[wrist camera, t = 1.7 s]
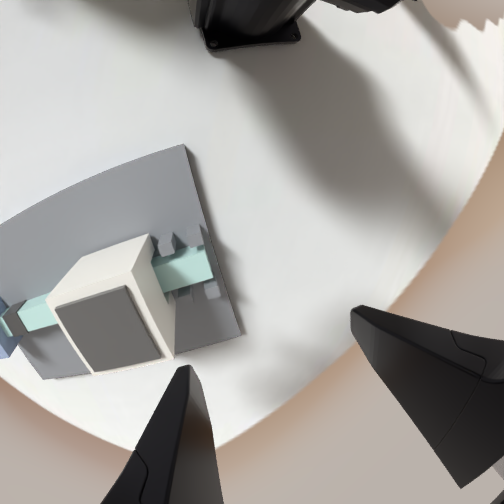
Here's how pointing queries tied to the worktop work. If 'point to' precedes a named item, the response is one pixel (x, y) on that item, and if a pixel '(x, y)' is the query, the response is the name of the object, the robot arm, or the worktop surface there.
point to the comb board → (103, 236)
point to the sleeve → (116, 309)
